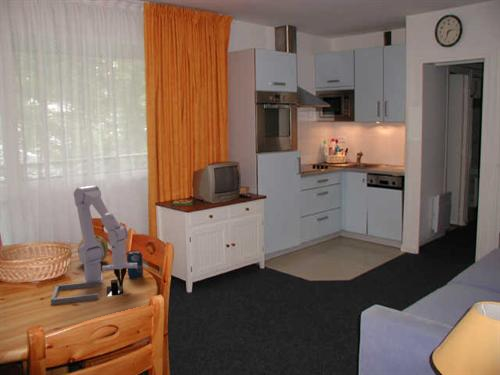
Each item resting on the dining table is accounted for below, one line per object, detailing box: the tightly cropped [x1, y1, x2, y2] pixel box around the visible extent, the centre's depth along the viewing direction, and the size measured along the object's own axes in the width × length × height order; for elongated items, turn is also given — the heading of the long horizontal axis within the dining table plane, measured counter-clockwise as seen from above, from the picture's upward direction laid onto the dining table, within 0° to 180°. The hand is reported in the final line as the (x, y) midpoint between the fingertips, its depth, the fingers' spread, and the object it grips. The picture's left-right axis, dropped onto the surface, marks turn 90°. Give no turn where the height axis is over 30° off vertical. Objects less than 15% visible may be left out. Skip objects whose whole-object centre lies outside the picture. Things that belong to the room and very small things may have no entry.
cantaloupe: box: [77, 234, 109, 263], centre depth 249 cm, size 15×15×15 cm
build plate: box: [106, 279, 124, 297], centre depth 211 cm, size 12×7×5 cm, turn 16°
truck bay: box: [50, 281, 101, 305], centre depth 208 cm, size 17×18×2 cm
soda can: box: [126, 249, 144, 280], centre depth 228 cm, size 7×7×12 cm
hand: (121, 285), depth 212 cm, fingers closed
